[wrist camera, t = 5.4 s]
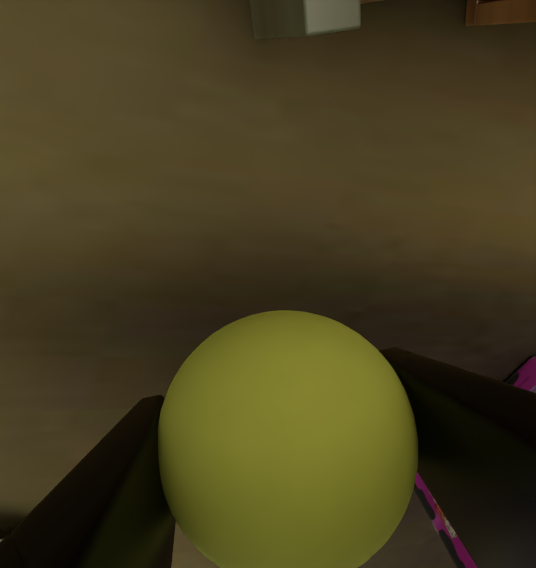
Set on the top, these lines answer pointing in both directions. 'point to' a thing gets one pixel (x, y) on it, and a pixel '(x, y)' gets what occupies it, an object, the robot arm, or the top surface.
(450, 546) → the candy bar box
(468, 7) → the cabinet
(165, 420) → the ball
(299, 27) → the drawer
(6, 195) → the top surface
